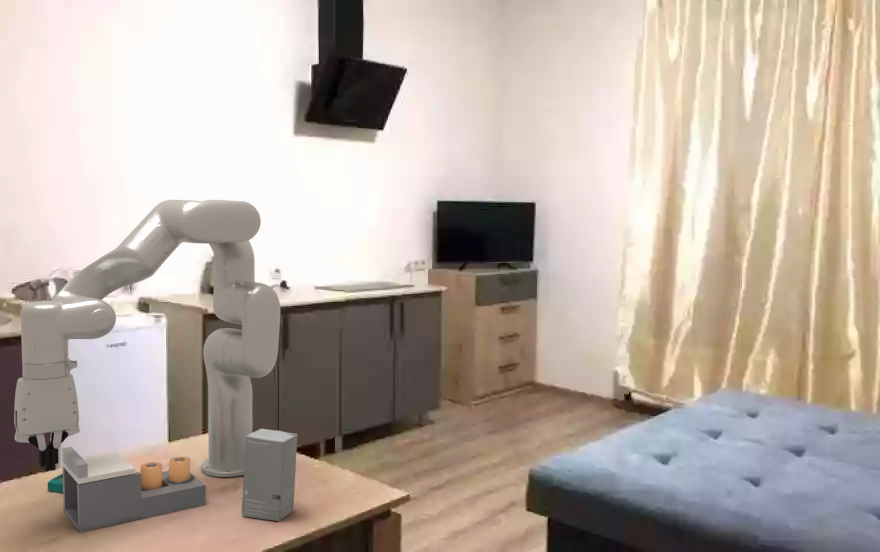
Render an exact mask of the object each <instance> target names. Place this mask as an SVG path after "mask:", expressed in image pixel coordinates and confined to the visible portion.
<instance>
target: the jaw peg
mask: <svg viewBox="0 0 880 552" xmlns="http://www.w3.org/2000/svg"><path fill="white" fill-rule="evenodd" d="M139 470H140V473H141V490H142V491H147V490H152V489H157V488H162V472H163V463H161V462H159V461H158V462H157V461H150V462H145V463H142V464H141V465H140V469H139Z"/></svg>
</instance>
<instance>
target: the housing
mask: <svg viewBox="0 0 880 552" xmlns="http://www.w3.org/2000/svg"><path fill="white" fill-rule="evenodd" d="M168 466H169V467H168V470H165V471H162V488H157V489H152V490H147V491H142V490H141V471H135V474H130V475H124V476H119V477H114V478H108V479H103V480H98V481H93V482H87V483H82V484H78V483H77V482H76V481H75V480H74V478H73V477H72V476H71V475H70V474H69V473H68V471H67V470H66V469H65V468H64V467H63V466H62V474H63V493H62V495H63V497H62V499H63V500H62V501H63V513H64V514H65V515H66V517H68V519H69V520H70V522H71V523H72V524H73V526H74V527H75V528H76V529H77V531H78V532H79V533H85V532H89V531H94V530H98V529H103V528H107V527H111V526H116V525H120V524H124V523H125V524H126V523H129V522H133V521H139V520H143V519H147V518H151V517H156V516H159V515H161V516H162V515H164V514H169V513H174V512H178V511H183V510H188V509H191V508H196V507H200V506H204V505H207V495H206V493H207V492H206V491H207V489H206V487H207V486H206V484H205V483H204V482H202V481H201V480H200V479H199V478H197V477H196V476H195V475H194V474H192V473H191V458H190V457H188V456H175V457H171V458H170V459H169V460H168Z"/></svg>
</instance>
